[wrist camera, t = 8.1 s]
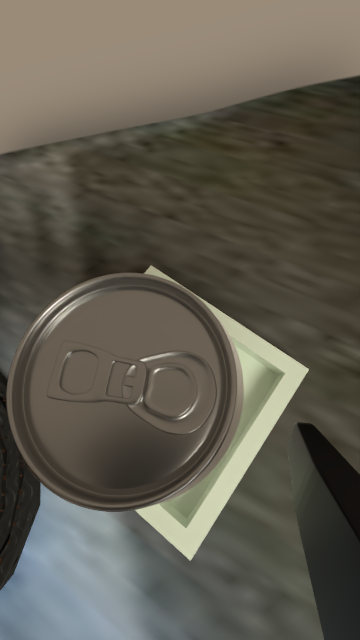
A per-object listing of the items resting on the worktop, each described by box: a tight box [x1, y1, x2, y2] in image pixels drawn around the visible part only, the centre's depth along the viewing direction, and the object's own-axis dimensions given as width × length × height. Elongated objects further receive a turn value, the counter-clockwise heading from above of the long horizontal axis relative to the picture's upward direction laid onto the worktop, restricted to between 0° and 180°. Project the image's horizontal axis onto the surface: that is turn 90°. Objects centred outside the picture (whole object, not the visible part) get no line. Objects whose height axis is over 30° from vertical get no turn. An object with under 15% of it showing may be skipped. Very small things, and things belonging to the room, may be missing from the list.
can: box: [6, 273, 244, 512], centre depth 13 cm, size 6×6×12 cm
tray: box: [135, 266, 309, 561], centre depth 18 cm, size 12×12×2 cm
